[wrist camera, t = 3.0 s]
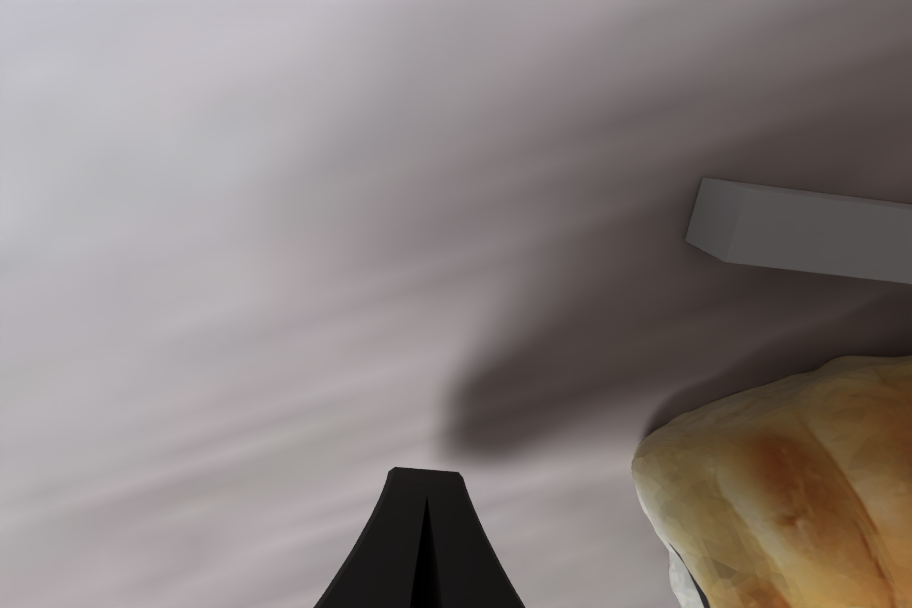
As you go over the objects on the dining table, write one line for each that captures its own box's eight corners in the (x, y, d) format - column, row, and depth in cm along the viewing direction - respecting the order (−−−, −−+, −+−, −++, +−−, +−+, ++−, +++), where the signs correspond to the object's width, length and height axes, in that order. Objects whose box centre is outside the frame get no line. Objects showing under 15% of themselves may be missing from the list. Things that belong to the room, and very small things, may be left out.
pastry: (1025, 242, 10) (1328, 314, 7) (1050, 481, 13) (1289, 628, 9) (594, 431, 12) (663, 574, 8) (686, 619, 14) (772, 796, 10)
